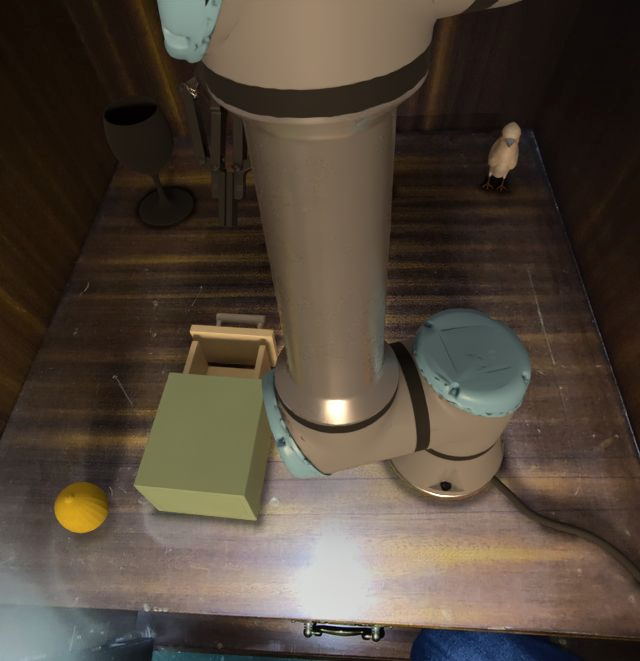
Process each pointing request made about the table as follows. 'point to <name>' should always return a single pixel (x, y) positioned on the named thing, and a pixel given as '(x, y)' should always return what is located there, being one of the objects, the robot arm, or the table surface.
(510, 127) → the bird
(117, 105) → the wine glass
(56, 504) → the lemon
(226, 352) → the drawer
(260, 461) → the cabinet
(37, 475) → the table surface
